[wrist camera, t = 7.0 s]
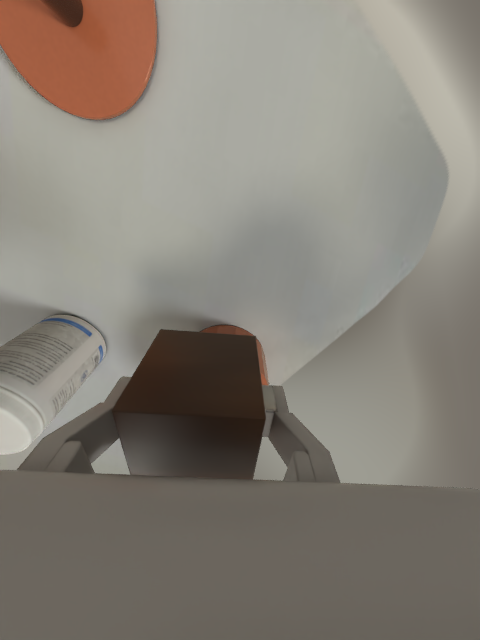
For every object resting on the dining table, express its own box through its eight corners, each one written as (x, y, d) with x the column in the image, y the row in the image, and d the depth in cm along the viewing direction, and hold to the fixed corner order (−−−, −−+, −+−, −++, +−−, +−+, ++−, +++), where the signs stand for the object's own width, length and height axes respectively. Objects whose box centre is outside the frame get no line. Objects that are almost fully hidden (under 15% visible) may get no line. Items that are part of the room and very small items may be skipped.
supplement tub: (28, 324, 32) (-115, 407, 19) (80, 303, 30) (-39, 379, 17) (74, 370, 36) (-17, 464, 24) (122, 354, 35) (51, 446, 22)
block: (255, 335, 11) (266, 418, 7) (246, 400, 14) (250, 493, 10) (160, 328, 11) (110, 410, 7) (167, 396, 14) (134, 489, 9)
